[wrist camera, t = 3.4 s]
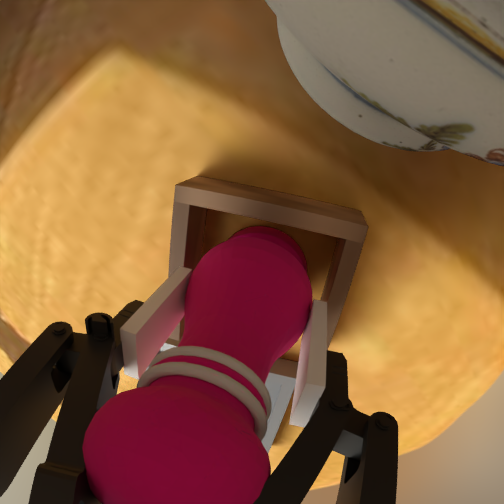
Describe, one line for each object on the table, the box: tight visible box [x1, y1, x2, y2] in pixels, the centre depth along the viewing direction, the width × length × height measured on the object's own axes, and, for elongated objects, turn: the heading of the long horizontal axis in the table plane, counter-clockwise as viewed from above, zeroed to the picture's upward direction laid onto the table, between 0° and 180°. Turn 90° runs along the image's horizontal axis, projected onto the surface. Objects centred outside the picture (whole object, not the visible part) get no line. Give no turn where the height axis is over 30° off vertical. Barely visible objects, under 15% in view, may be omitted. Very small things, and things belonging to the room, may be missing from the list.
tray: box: [145, 336, 299, 453], centre depth 27 cm, size 13×13×2 cm
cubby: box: [168, 176, 368, 350], centre depth 21 cm, size 11×11×4 cm
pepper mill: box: [82, 226, 312, 504], centre depth 14 cm, size 7×7×20 cm
